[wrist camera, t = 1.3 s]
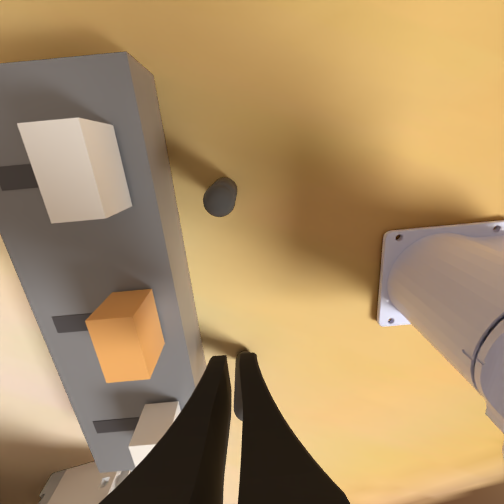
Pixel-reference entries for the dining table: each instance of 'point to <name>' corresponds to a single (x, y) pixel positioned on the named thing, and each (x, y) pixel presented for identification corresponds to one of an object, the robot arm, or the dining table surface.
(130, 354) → the orange block
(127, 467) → the breaker panel
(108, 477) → the circuit breaker
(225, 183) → the cord posts
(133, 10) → the dining table surface
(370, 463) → the dining table surface
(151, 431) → the paddle
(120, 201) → the paddle
